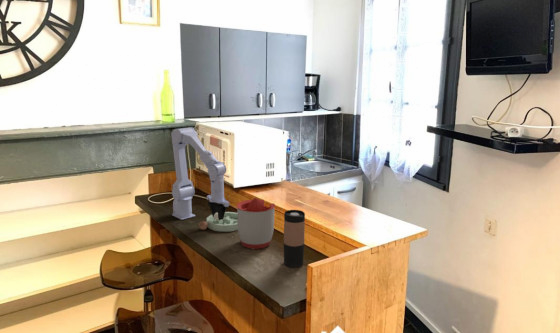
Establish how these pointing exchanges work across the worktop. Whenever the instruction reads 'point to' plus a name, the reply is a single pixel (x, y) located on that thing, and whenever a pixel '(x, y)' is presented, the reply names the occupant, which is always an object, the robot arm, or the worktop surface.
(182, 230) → the worktop surface
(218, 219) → the ivory bead
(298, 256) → the travel mug
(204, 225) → the terracotta bead
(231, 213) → the tray
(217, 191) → the robot arm
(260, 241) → the citrus juicer
